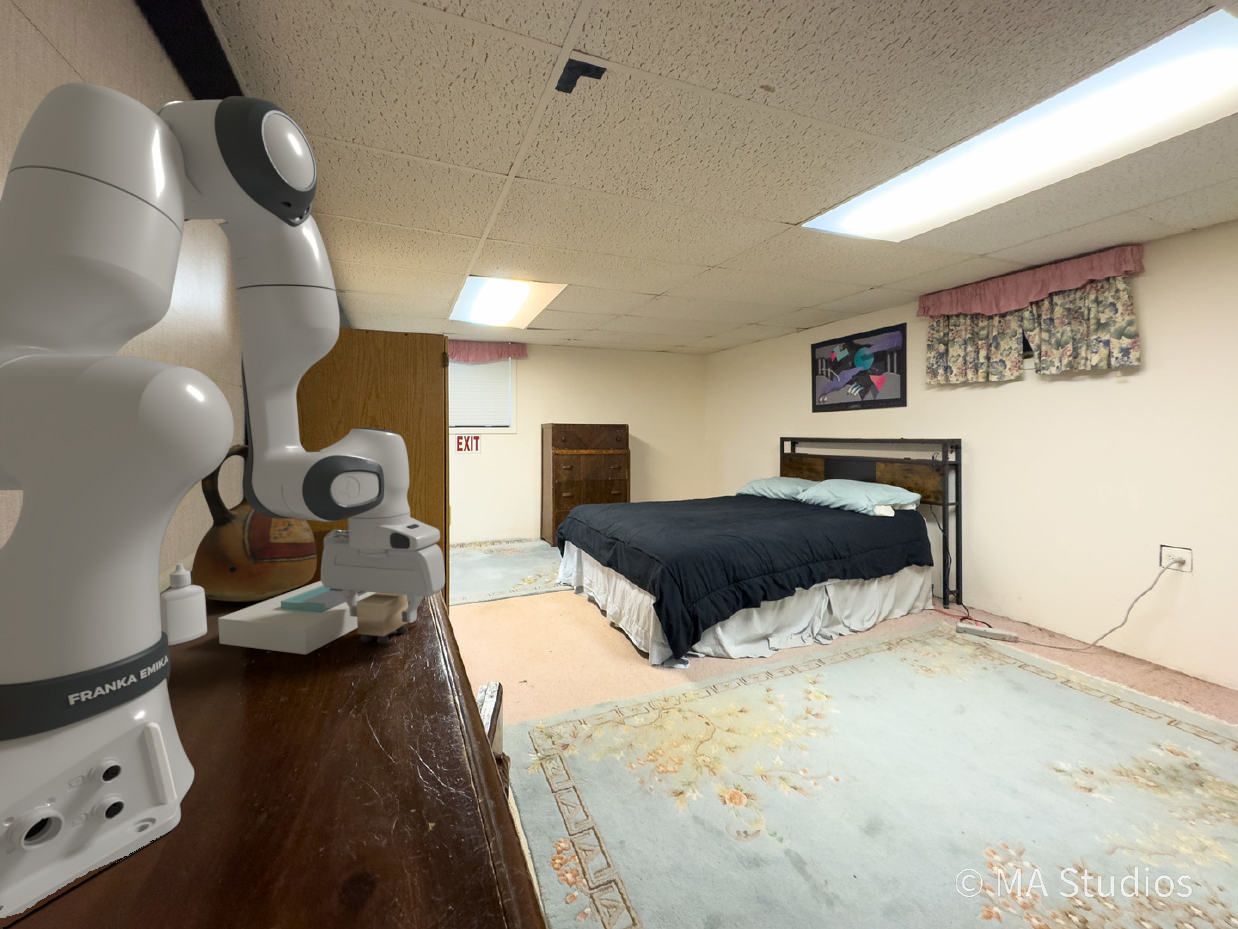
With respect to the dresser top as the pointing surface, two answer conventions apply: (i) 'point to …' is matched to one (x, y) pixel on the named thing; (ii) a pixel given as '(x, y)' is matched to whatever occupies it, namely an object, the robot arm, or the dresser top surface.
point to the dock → (291, 621)
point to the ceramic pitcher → (250, 549)
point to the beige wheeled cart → (381, 616)
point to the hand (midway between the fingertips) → (383, 618)
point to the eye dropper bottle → (183, 608)
